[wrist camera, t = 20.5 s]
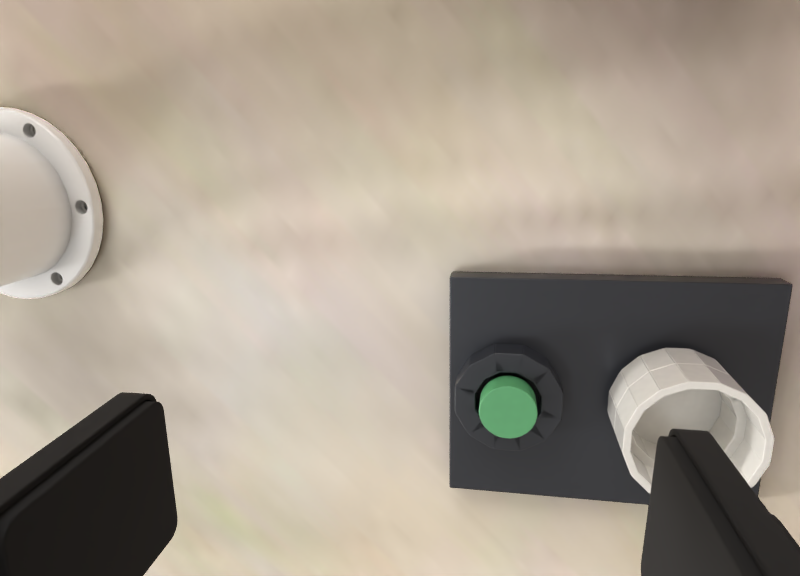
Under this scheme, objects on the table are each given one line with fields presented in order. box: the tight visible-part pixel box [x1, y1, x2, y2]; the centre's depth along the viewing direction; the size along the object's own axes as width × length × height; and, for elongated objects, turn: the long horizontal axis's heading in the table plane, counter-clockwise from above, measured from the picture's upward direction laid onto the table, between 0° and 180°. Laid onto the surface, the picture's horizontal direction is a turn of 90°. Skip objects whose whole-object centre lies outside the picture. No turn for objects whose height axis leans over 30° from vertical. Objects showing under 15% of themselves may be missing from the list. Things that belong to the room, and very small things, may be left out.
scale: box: [450, 272, 792, 505], centre depth 33 cm, size 18×14×3 cm
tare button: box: [479, 375, 538, 438], centre depth 32 cm, size 3×3×2 cm
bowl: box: [607, 348, 775, 493], centre depth 30 cm, size 7×7×5 cm
